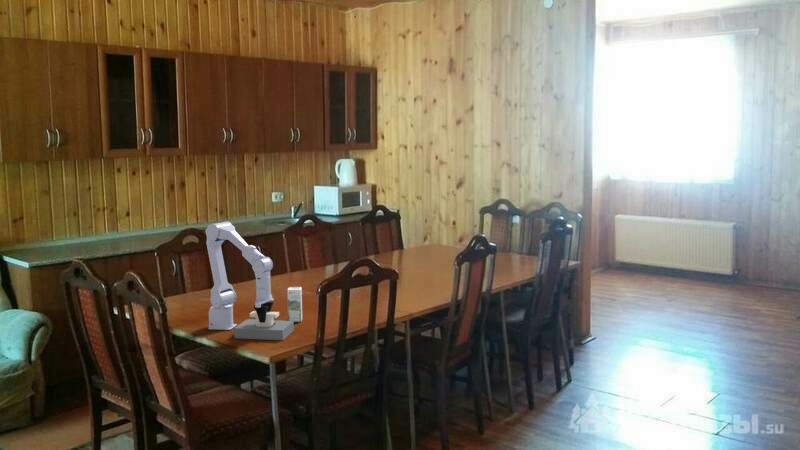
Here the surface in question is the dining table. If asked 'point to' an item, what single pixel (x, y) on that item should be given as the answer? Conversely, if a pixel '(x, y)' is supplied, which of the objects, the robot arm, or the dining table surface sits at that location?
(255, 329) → the slotted board
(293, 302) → the syrup box
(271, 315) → the tee block
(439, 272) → the dining table surface
